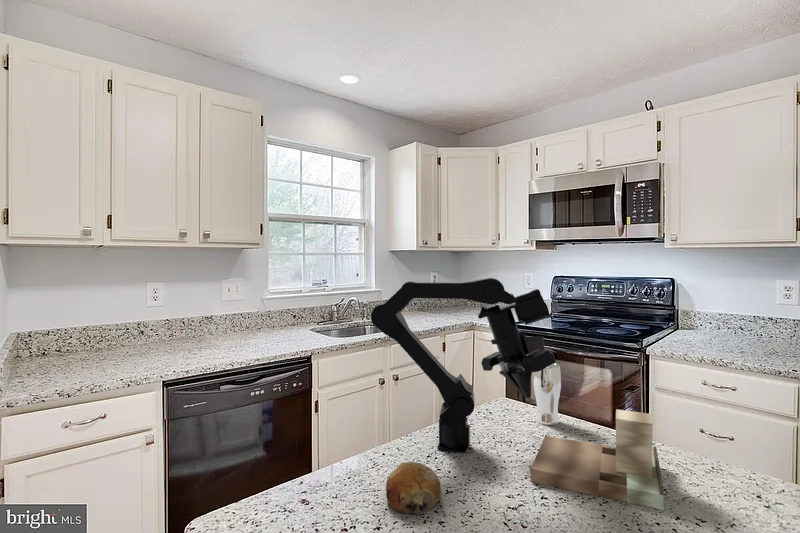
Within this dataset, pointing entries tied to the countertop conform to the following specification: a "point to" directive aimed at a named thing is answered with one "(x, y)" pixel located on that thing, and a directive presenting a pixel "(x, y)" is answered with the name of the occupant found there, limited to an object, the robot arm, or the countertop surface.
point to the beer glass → (547, 394)
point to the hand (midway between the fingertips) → (528, 397)
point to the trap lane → (595, 472)
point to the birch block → (634, 443)
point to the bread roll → (412, 488)
